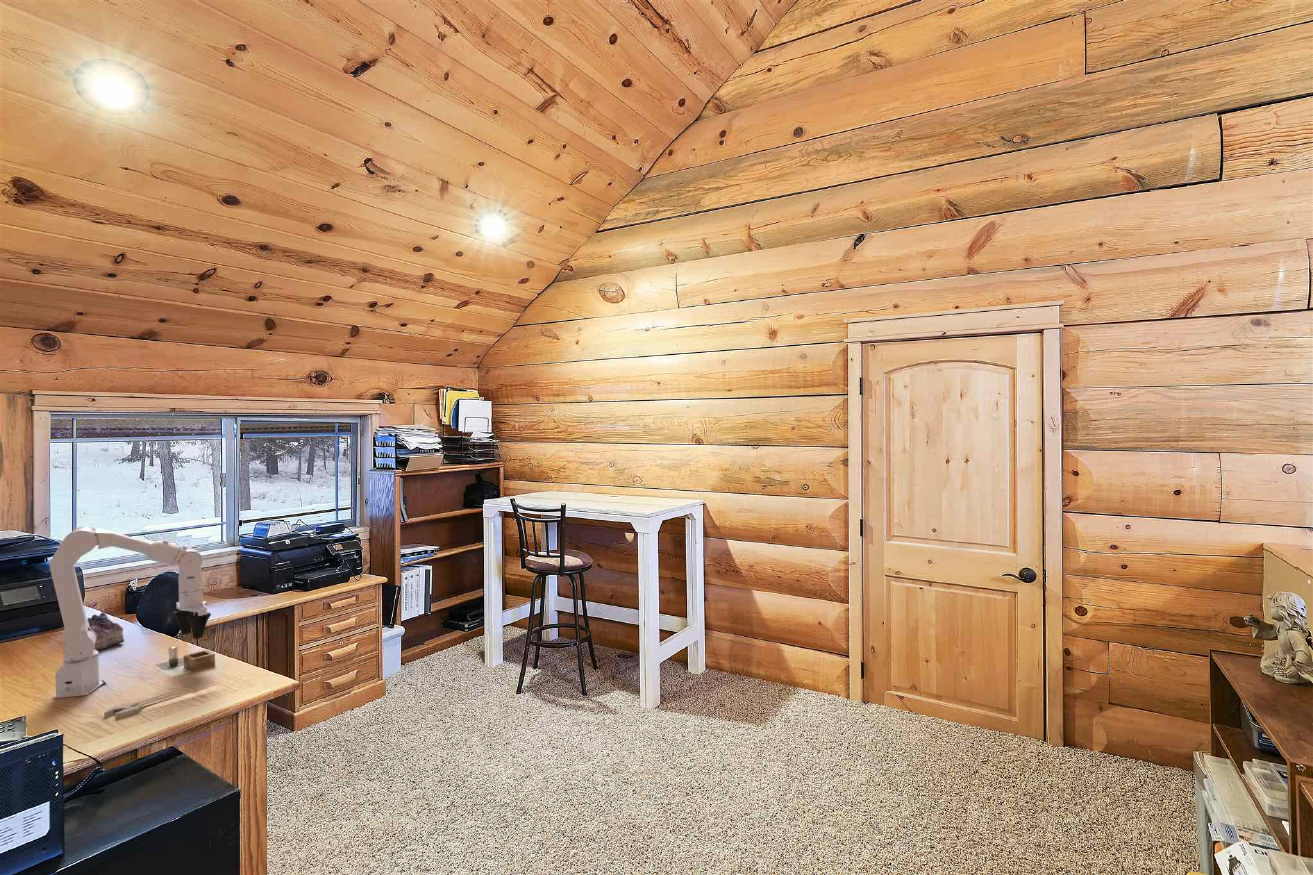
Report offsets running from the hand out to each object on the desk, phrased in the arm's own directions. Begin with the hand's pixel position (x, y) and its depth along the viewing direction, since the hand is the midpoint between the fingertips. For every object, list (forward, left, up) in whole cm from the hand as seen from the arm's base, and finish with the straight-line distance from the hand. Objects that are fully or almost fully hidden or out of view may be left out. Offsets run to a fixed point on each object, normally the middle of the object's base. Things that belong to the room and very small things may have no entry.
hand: (192, 635), depth 193 cm
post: (+1, +6, -10) cm, 11 cm away
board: (0, +2, -10) cm, 10 cm away
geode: (+31, +41, -10) cm, 52 cm away
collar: (-2, -2, -9) cm, 9 cm away
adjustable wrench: (-24, -3, -10) cm, 26 cm away
